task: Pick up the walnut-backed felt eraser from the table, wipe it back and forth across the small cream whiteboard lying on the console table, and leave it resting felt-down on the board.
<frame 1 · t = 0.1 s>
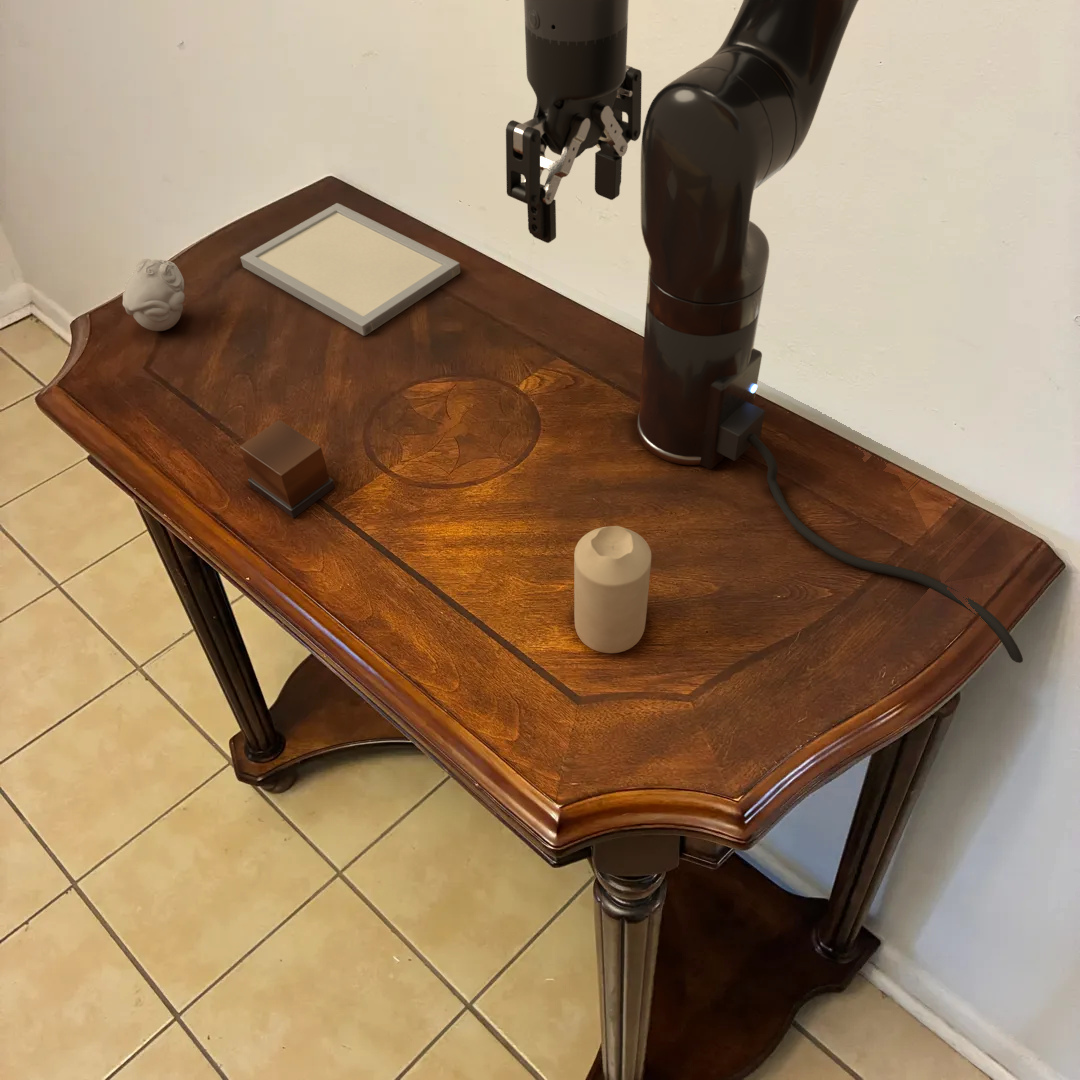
hand: (576, 216, 84), 17 cm above the table, tool pointing down, fingers open, 8 cm apart
frog figurine: (166, 326, 104), on the table
eraser: (292, 487, 88), on the table
candle: (609, 626, 77), on the table
whiteboard: (350, 270, 110), on the table
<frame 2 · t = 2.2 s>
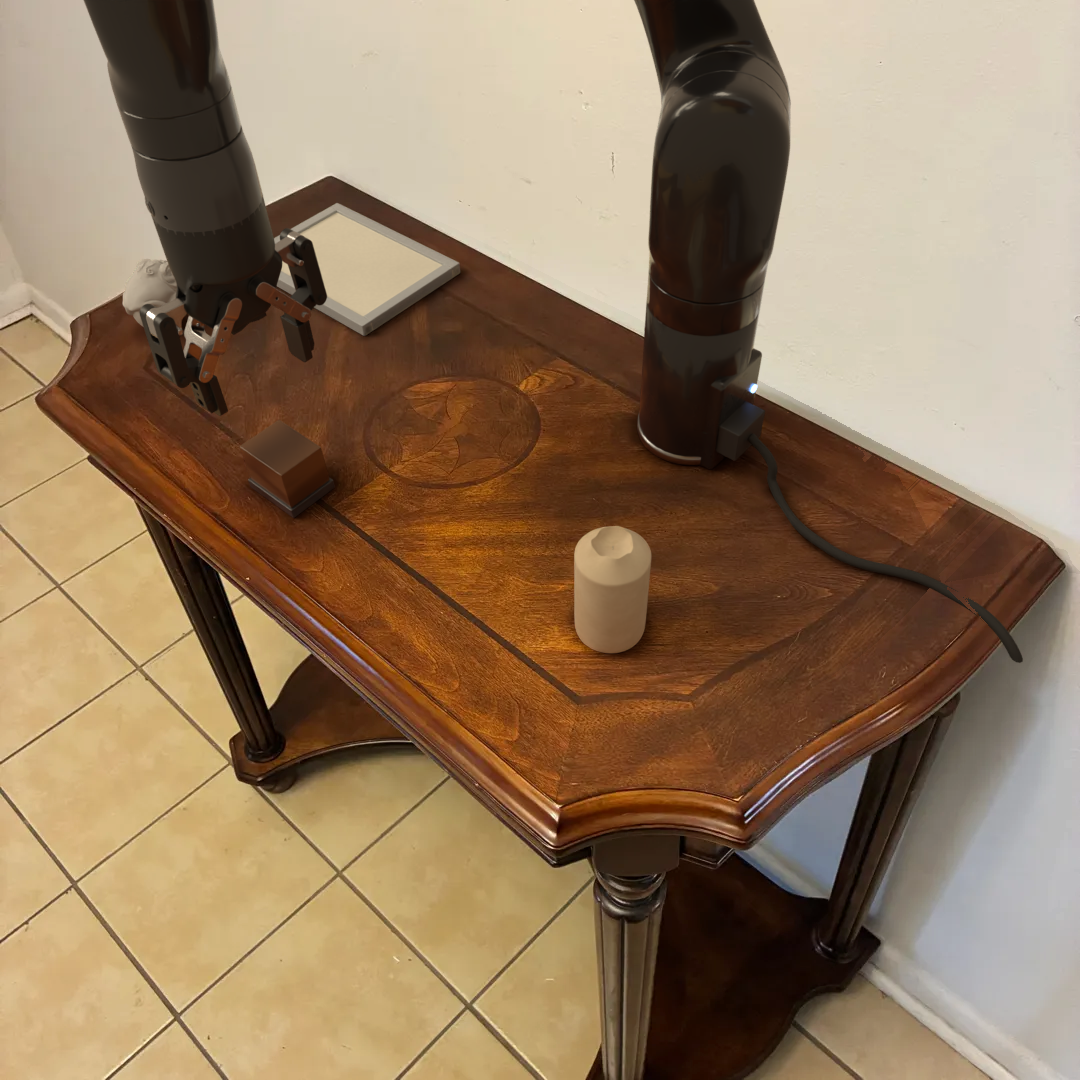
hand: (260, 382, 79), 12 cm above the table, tool pointing down, fingers open, 8 cm apart
nothing on the table moved.
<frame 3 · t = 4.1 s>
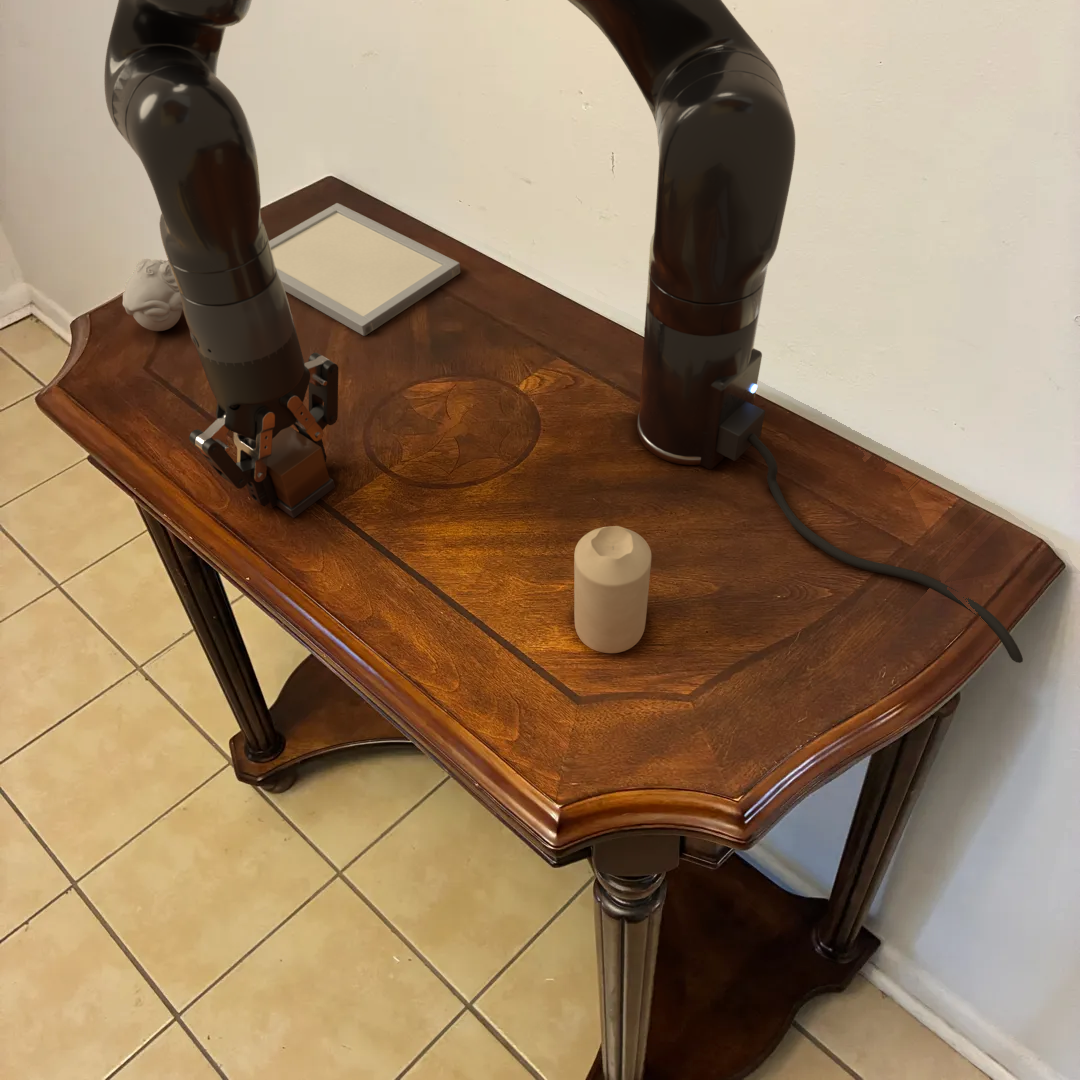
hand: (291, 484, 88), 0 cm above the table, tool pointing down, fingers closed on eraser, 4 cm apart
eraser: (292, 487, 88), on the table, touching gripper
everything else where it was.
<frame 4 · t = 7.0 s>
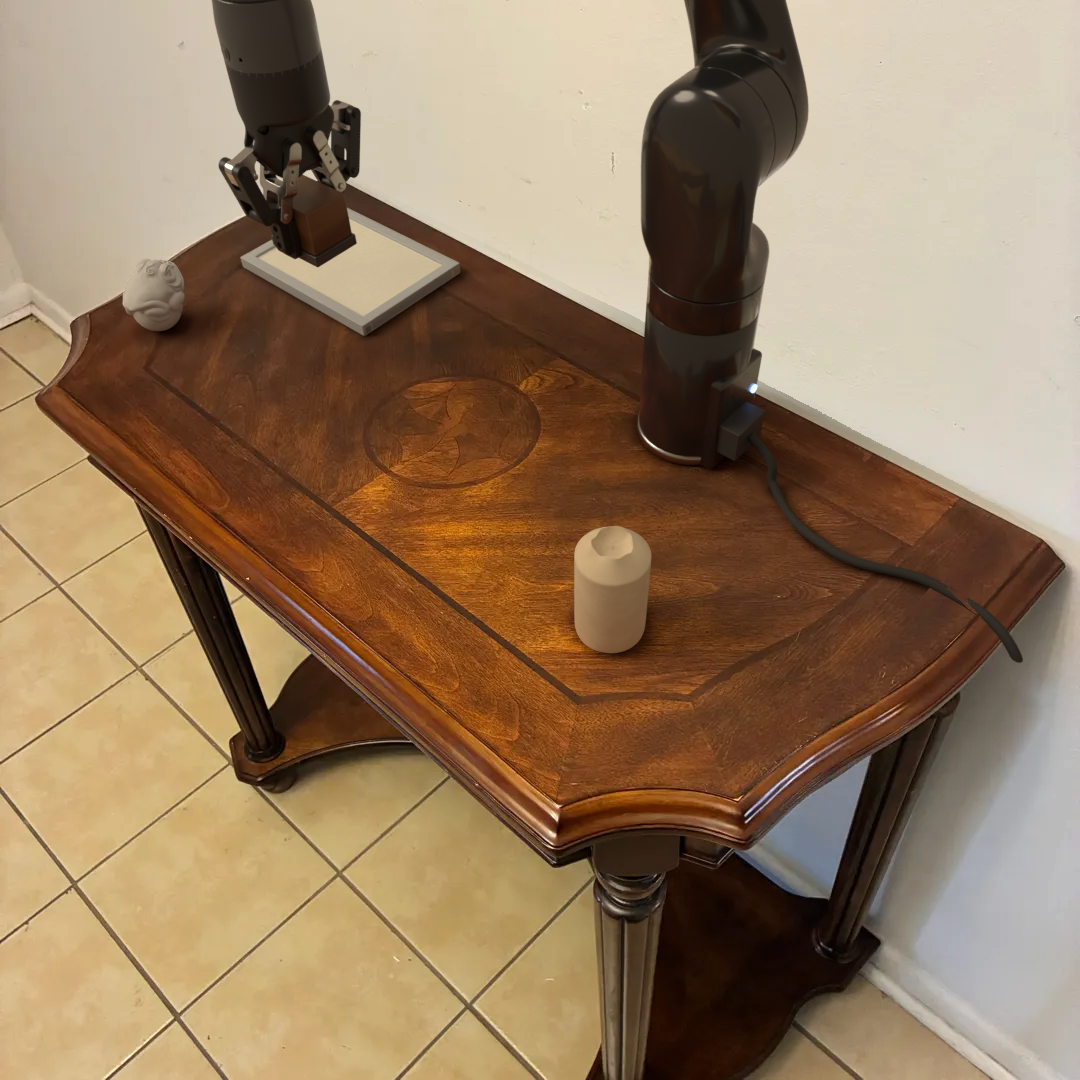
hand: (314, 240, 90), 13 cm above the table, tool pointing down, fingers closed on eraser, 4 cm apart
eraser: (315, 244, 90), point 13 cm above the table, touching gripper
everything else where it was.
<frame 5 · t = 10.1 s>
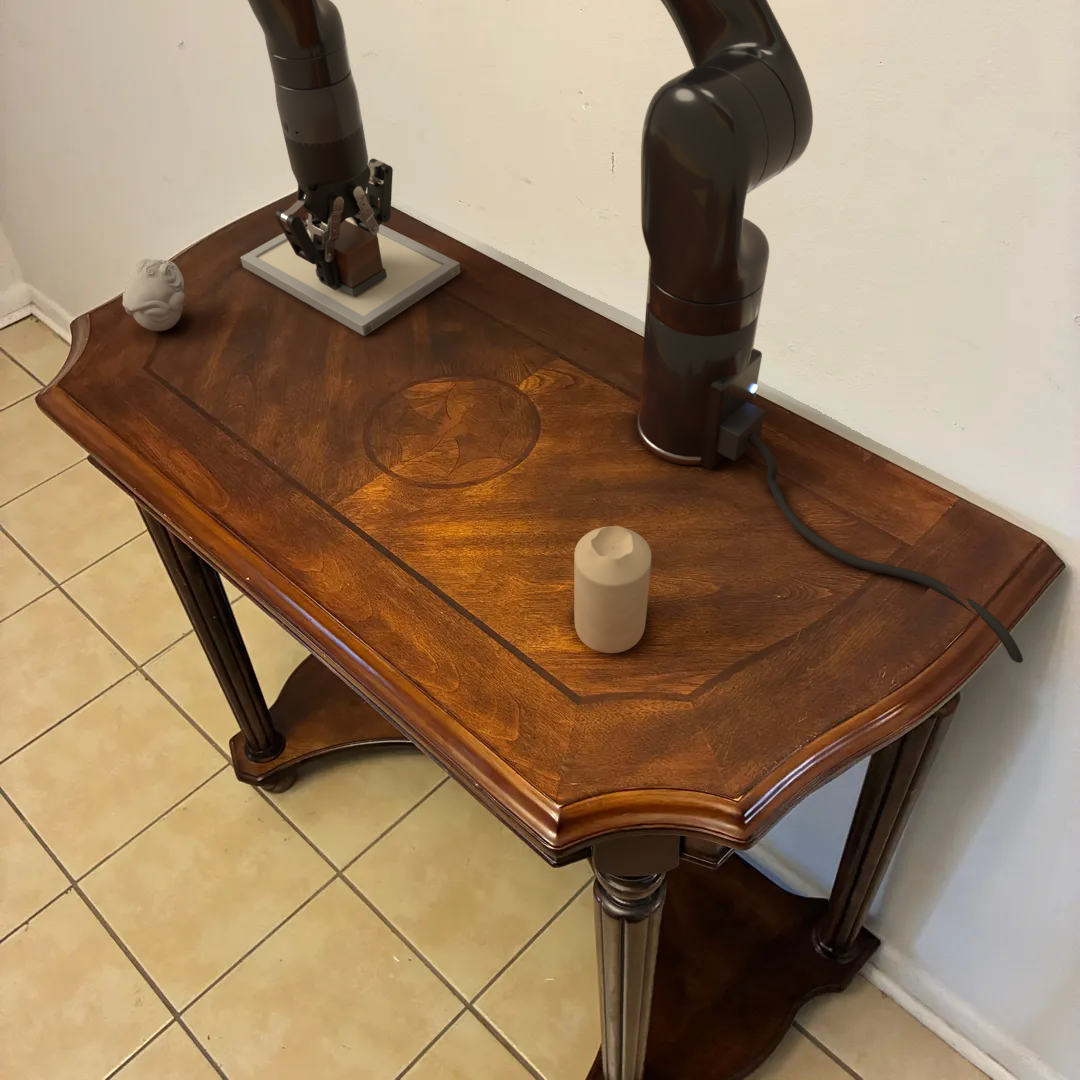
hand: (351, 274, 106), 2 cm above the table, tool pointing down, fingers closed on eraser, 4 cm apart
eraser: (351, 277, 107), point 1 cm above the table, touching gripper
everything else where it was.
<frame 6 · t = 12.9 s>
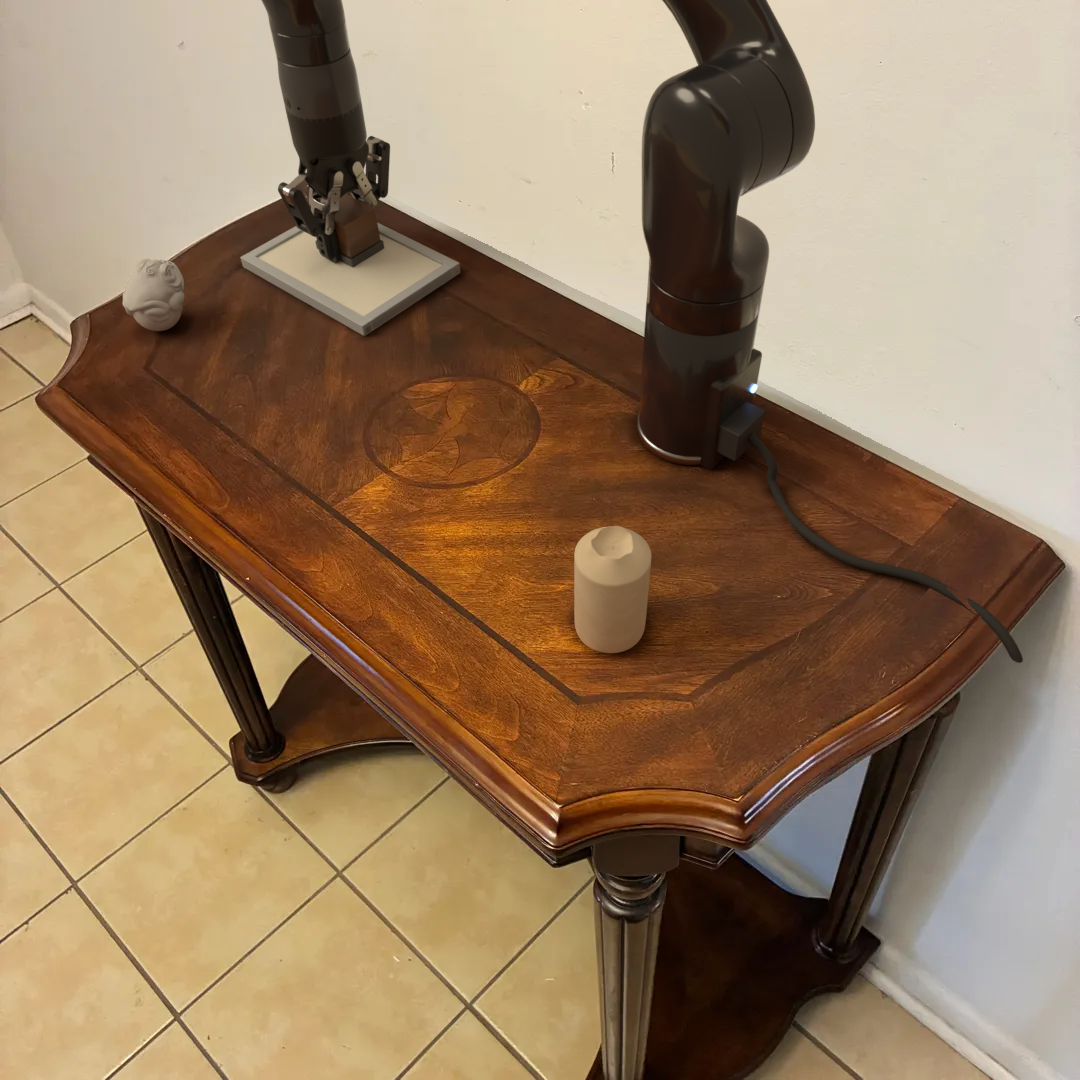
hand: (350, 247, 111), 1 cm above the table, tool pointing down, fingers closed on eraser, 4 cm apart
eraser: (350, 248, 111), point 1 cm above the table, touching gripper
everything else where it was.
when the fingers open (1 cm above the table, at t = 15.9 s): eraser stays where it is, resting on whiteboard.
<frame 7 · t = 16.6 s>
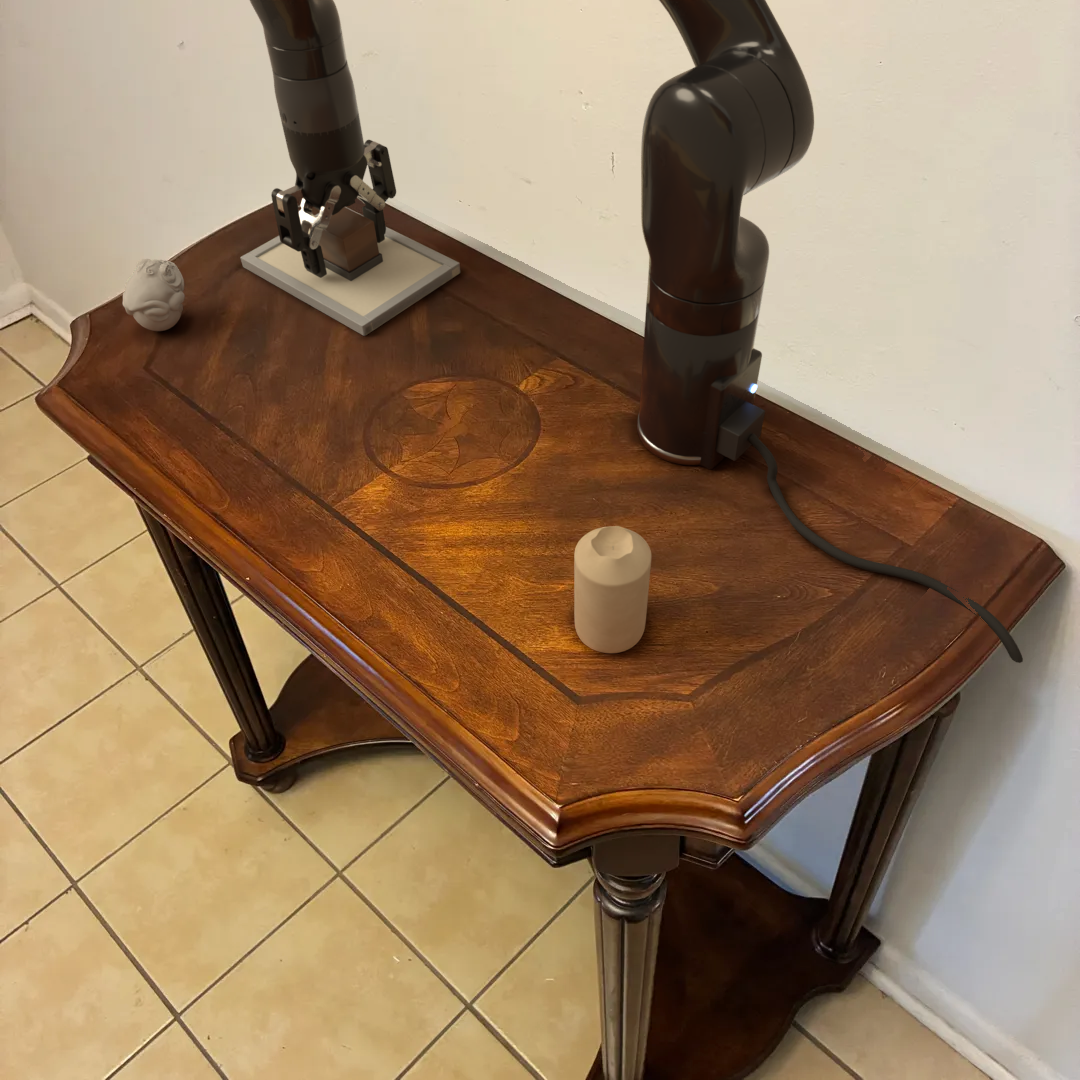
hand: (348, 256, 108), 2 cm above the table, tool pointing down, fingers open, 8 cm apart
eraser: (348, 261, 109), point 1 cm above the table, touching whiteboard
everything else where it was.
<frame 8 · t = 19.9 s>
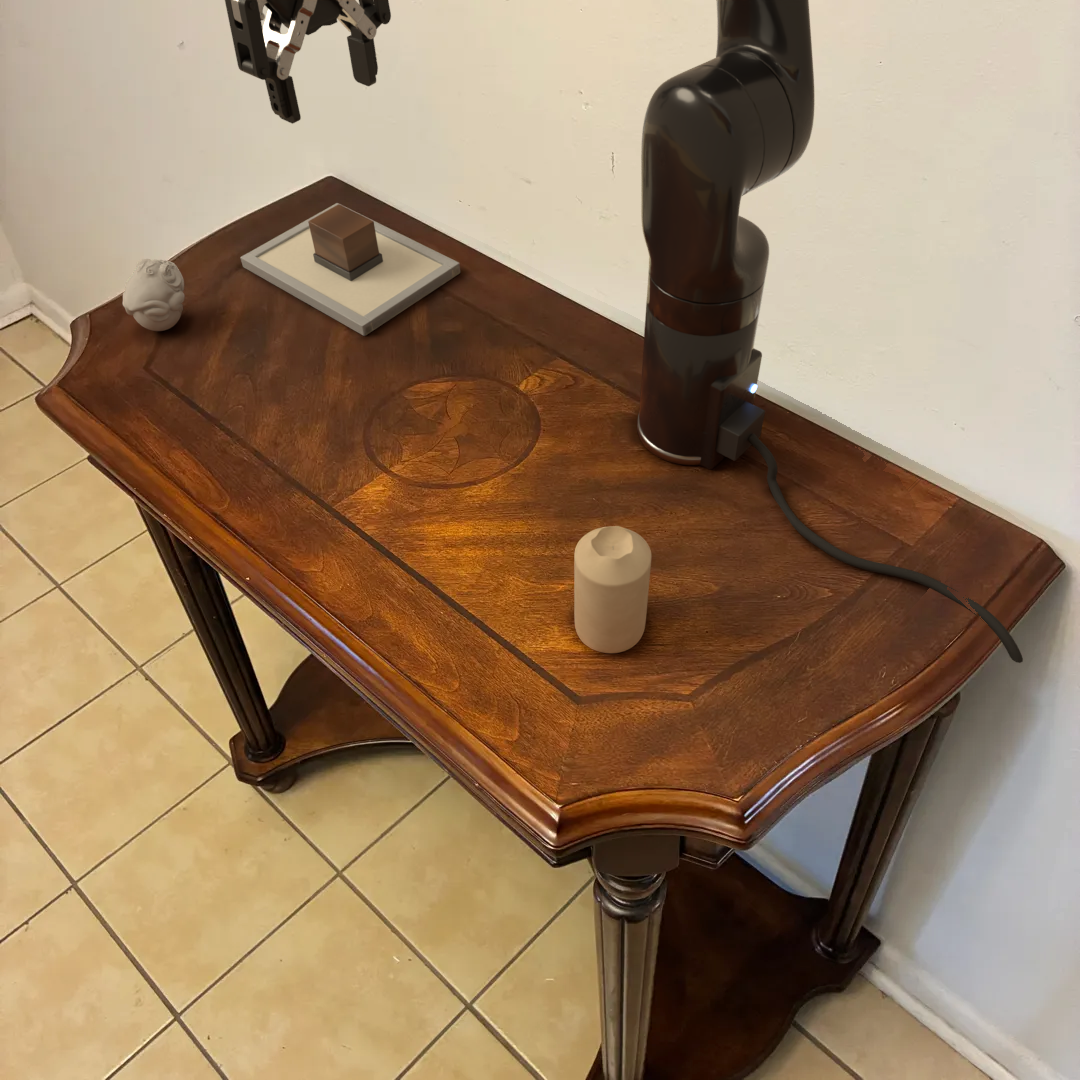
hand: (328, 100, 84), 24 cm above the table, tool pointing down, fingers open, 8 cm apart
nothing on the table moved.
at the end: eraser inside the target area on the whiteboard (0.1 cm from its centre), point 1.0 cm above the whiteboard's base; eraser tilted 0°; the gripper is holding nothing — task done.
